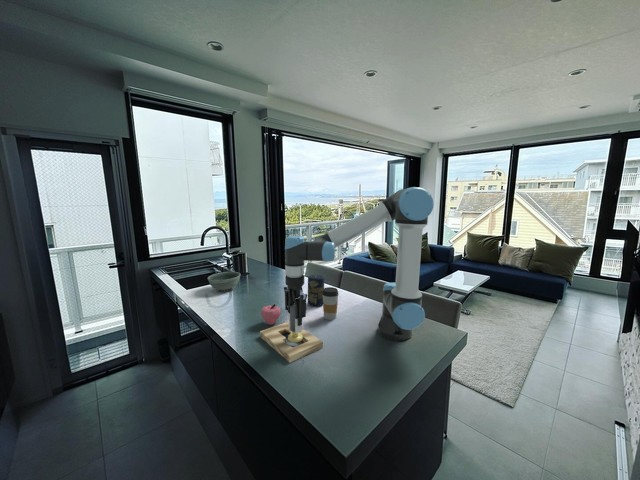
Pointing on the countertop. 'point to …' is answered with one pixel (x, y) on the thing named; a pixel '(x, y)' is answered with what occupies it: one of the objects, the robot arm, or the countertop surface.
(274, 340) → the keyhole board
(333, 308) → the coffee cup
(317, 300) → the canister
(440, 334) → the countertop surface
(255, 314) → the countertop surface
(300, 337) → the peg
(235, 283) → the bowl
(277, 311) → the apple
